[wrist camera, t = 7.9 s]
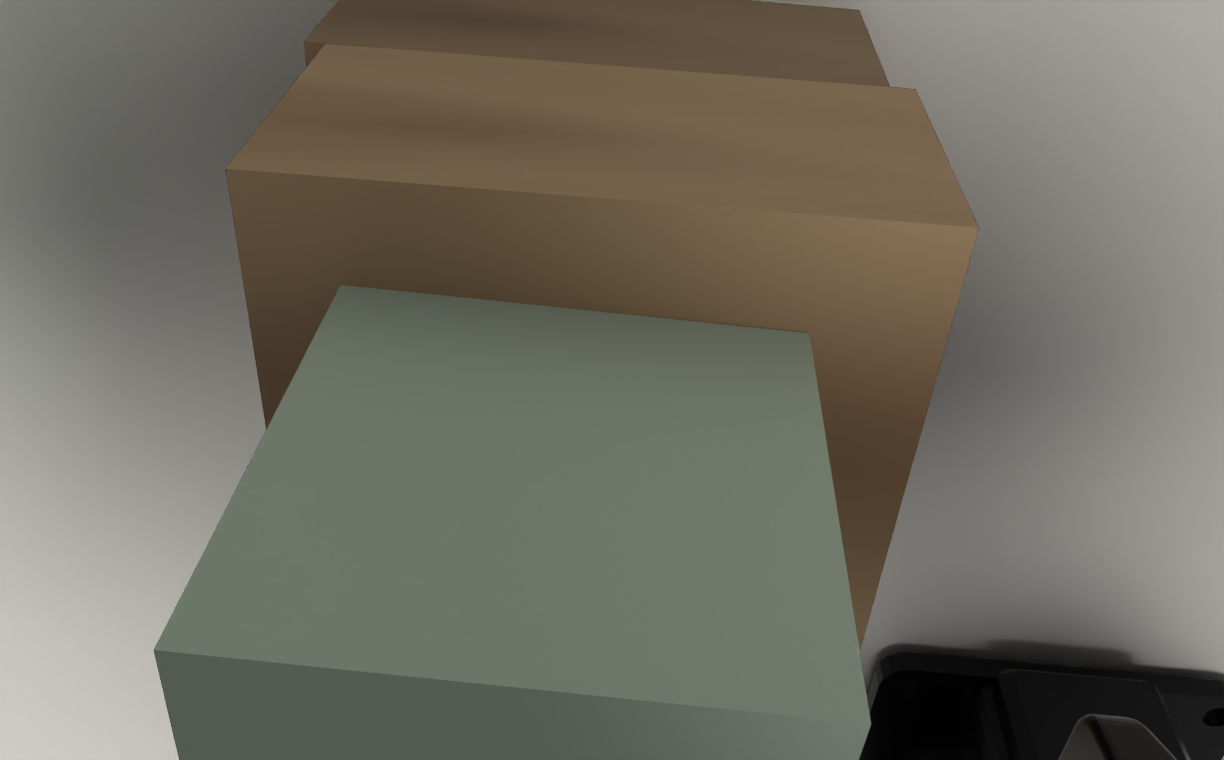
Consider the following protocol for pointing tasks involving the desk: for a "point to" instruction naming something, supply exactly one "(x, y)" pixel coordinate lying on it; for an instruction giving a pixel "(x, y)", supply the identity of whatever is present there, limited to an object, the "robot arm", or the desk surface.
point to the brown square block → (624, 224)
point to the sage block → (526, 549)
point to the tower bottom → (621, 34)
